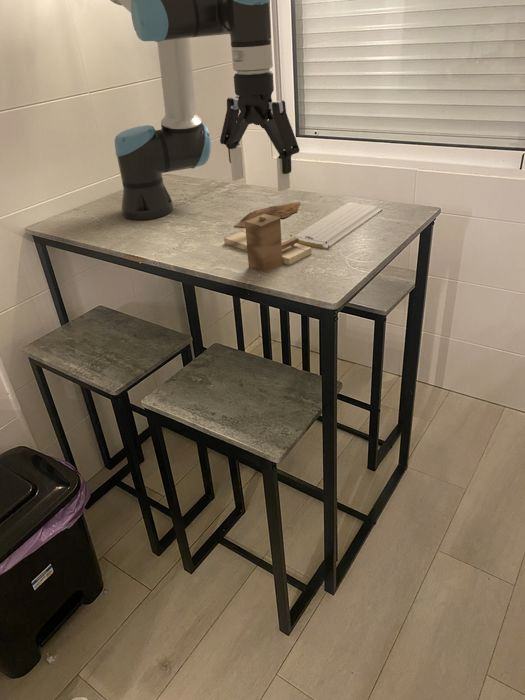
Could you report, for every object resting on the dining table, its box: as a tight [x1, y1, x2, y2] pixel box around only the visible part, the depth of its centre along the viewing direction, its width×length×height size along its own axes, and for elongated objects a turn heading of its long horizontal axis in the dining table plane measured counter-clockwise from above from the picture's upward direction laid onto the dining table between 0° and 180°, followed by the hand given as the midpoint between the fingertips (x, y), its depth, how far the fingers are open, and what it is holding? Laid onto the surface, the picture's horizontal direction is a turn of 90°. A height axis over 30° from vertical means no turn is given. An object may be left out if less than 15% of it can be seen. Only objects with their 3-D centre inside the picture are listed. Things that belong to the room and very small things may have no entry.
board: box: [223, 228, 313, 266], centre depth 131 cm, size 22×8×2 cm, turn 46°
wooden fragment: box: [233, 201, 302, 229], centre depth 151 cm, size 26×11×1 cm, turn 131°
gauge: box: [244, 214, 299, 274], centre depth 122 cm, size 5×14×12 cm, turn 136°
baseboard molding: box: [289, 201, 381, 251], centre depth 140 cm, size 31×3×12 cm
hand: (260, 184), depth 112 cm, fingers open, 13 cm apart
